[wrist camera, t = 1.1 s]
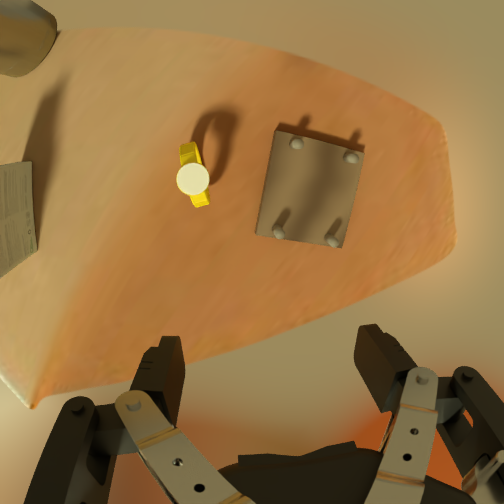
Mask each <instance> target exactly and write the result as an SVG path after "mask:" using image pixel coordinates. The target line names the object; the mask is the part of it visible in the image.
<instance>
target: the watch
mask: <svg viewBox="0 0 504 504" xmlns="http://www.w3.org/2000/svg"><path fill="white" fill-rule="evenodd" d="M179 154H180V161H181V168H180V169H179V171H178V173H177V177H176V182H177V185H178V188H179V189H180V190H181V191H182V192H183V193H185V194H187V195H190V198H191V201H192V203H193V204H194V206H195V207H200V206H203V205H207V204H210V195H209V189H208V185H209V181H210V176H209V172H208V170H207V169H206V167H205V166H204V165H202V161H201V157H200V154H199V151H198V148H197V145H196V143H195V142H194V141H193V142H190V143H186V144H183V145H181V146H180V148H179Z"/></svg>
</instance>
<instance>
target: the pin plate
mask: <svg viewBox="0 0 504 504" xmlns="http://www.w3.org/2000/svg"><path fill="white" fill-rule="evenodd" d="M364 154H365V153H361V152H358V151H355V150H352V149H348V148H345V147H341V146H338V145H334V144H331V143H327V142H323V141H319V140H315V139H311V138H307V137H303V136H299V135H295V134H291V133H286V132H282V131H277V130H276V131H274V136H273V141H272V146H271V151H270V157H269V162H268V167H267V172H266V177H265V182H264V187H263V193H262V198H261V203H260V208H259V213H258V218H257V223H256V229H255V234H256V235H259V236H265V237H272V238H277V239H286V240H292V241H299V242H305V243H312V244H318V245H324V246H331V247H334V248H335V247H337V248H342V246H343V242H344V238H345V235H346V231H347V227H348V223H349V219H350V215H351V211H352V207H353V203H354V199H355V195H356V191H357V186H358V182H359V178H360V173H361V168H362V164H363V159H364Z"/></svg>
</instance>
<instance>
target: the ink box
mask: <svg viewBox="0 0 504 504" xmlns="http://www.w3.org/2000/svg"><path fill="white" fill-rule="evenodd" d="M35 252H37V243H36V235H35V225H34V213H33V197H32V162H31V161H27V162H16V163H10V164H5V165H0V278H2V277H3V276H4V275H6V274H7V273H8V272H9V271H11V270H12V269H13V268H15V267H16V266H17V265H19V264H20V263H21V262H23V261H24V260H26V259H27V258H28V257H30V256H31V255H32V254H34V253H35Z"/></svg>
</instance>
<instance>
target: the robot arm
mask: <svg viewBox="0 0 504 504" xmlns="http://www.w3.org/2000/svg"><path fill="white" fill-rule="evenodd" d="M56 32H57V22H56V19H55V17H54V16H53V15H52V14H51V13H49V12H47V11H46V10H45V9H43V8H42V7H40V6H39V5H37V4H36V3H34V2H33V1H31V0H0V74H2V75H7V76H11V77H20V76H23V75H25V74H27V73H29V72H30V71H32V70H33V69H34V68H35V67H36V66H38V65H39V64H40V62H41V61H42V60H43V59H44V58H45V56H46V55H47V53H48V52H49V50H50V48H51V47H52V45H53V42H54V40H55V37H56ZM354 362H355V365H356V367H357V369H358V371H359V373H360V375H361V376H362V378H363V380H364V382H365V384H366V385H367V387H368V389H369V391H370V393H371V395H372V397H373V399H374V400H375V402H376V404H377V406H378V408H379V410H380V412H381V413H383V412H387V411H391V412H392V416H391V418H390V421H389V424H388V426H387V429H386V432H385V435H384V437H383V440H382V443H381V445H380V448H379V450H378V451H375V450H372V449H366V448H357V447H356V445H355V442H354V441H350V442H346V443H341V444H336V445H331V446H326V447H324V448H321V449H319V450H316V451H314V452H311V453H308V454H305V455H302V456H287V455H276V454H254V455H238V463H235V464H232V465H229V466H226V467H224V468H221V469H219V470H216V469H215V468H214V467H213V466H212V465H211V464H210V463H209V462H208V461H207V460H206V459H205V457H203V455H202V454H201V453H200V452H199V451H198V450H197V449H196V448H195V447H194V445H193V444H192V443H191V442H190V441H189V440H188V438H187V437H186V436H185V435H184V434H183V433H182V432H181V430H180V429H179V428H177V427H176V423H177V417H178V412H179V406H180V401H181V395H182V389H183V384H184V379H185V362H184V357H183V351H182V346H181V340H180V337H179V336H162V338H161V340H160V343H159V346H158V347H150V348H149V349H148V350H147V351H146V352H145V353H144V355H143V357H142V360H141V363H140V364H139V367H138V369H137V372H136V375H135V377H134V380H133V382H132V385H131V387H130V390H129V391H127V392H125V393H123V394H121V395H120V396H119V397H118V398H117V399H116V401H115V403H113V404H107V405H98V406H95V405H94V403H93V401H92V400H91V399H89V398H87V397H83V396H78V397H74V398H71V399H69V400H68V401H67V402H66V403H65V404H64V405H63V407H62V409H61V411H60V413H59V415H58V418H57V420H56V422H55V424H54V426H53V429H52V431H51V433H50V436H49V438H48V440H47V442H46V445H45V447H44V450H43V452H42V455H41V457H40V460H39V462H38V465H37V467H36V470H35V472H34V475H33V478H32V481H31V484H30V486H29V489H28V492H27V495H26V498H25V501H24V504H107V503H108V497H109V492H110V487H111V482H112V477H113V472H114V467H115V463H116V458H117V455H120V454H129V453H136V452H137V453H138V454H139V456H140V457H141V459H142V460H143V462H144V463H145V465H146V466H147V468H148V470H149V471H150V473H151V474H152V475H153V477H154V478H155V480H156V481H157V483H158V484H159V486H160V487H161V488H162V490H163V491H164V493H165V494H166V496H167V497H168V498H169V500H170V501H171V502H172V504H504V403H503V402H502V401H501V399H500V398H499V397H498V395H497V394H496V393H495V392H494V391H493V389H492V388H491V387H490V386H489V384H488V383H487V382H486V381H485V380H484V378H483V377H482V376H481V375H480V374H479V373H478V372H477V371H476V370H475V369H473V368H471V367H467V366H461V367H458V368H457V369H456V370H455V371H454V374H453V376H452V377H438V376H437V375H436V373H435V372H434V371H432V370H430V369H428V368H425V367H418V366H417V365H416V363H415V362H414V361H413V360H412V358H411V357H410V356H409V355H408V353H407V352H406V351H404V349H403V347H402V346H400V344H399V342H398V341H397V340H396V339H395V338H394V337H393V336H391V335H390V334H388V333H383V332H382V330H380V328H379V327H378V325H377V324H369V325H363V326H360V327H359V329H358V334H357V339H356V345H355V350H354ZM465 410H467V411H468V413H469V414H470V416H471V417H472V419H473V428H472V427H471V425H470V424H469V422H468V420H467V419H466V417H465V416H464V415H463V413H464V411H465ZM435 429H437V431H438V432H439V434H440V436H441V437H442V440H443V441H444V443H445V445H446V447H447V449H448V451H449V452H450V454H451V456H452V458H453V460H454V462H455V464H456V466H457V468H458V469H459V472H460V474H461V476H462V478H463V480H462V483H461V488H462V490H459V489H457V488H455V487H452V486H450V485H448V484H445V483H443V482H441V481H438V480H436V479H434V478H432V477H430V476H428V475H425V474H426V470H427V466H428V463H429V458H430V454H431V449H432V445H433V440H434V434H435Z"/></svg>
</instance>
